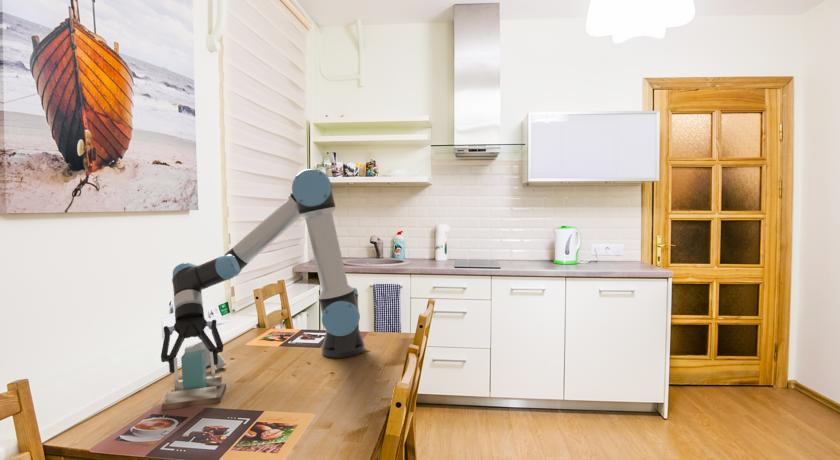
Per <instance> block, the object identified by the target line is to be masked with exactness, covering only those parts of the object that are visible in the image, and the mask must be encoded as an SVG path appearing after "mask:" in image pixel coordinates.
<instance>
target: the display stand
mask: <svg viewBox="0 0 840 460" xmlns="http://www.w3.org/2000/svg"><path fill="white" fill-rule="evenodd" d="M206 378H207V387H206V388H198V389H190V390H183V379H178V383H179V385H175V381H174V383H173V384H174V389H172V390H171V391H169V392H166V393H165V399H164V401H163V403H162V404H161V409H162V411H166V409H167V410H174V409H175V410H176V409H179V408H180V409H182V408H188V407H194V406H195V407H196V406H203V405H210V404H218V403H222V399H223V396H224V395H225V393H226V390H227V383H226V382H225V383H223V376H222V374H220V375H215V377H214V378H212V376H206Z"/></svg>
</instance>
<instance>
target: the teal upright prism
mask: <svg viewBox="0 0 840 460" xmlns="http://www.w3.org/2000/svg"><path fill="white" fill-rule="evenodd" d="M180 359H181V360H180V362H181V372H182V375H181V376H182V380H183V390H190V389H198V388H206V387H207V378H206V377H207V367H206V363H205V350H202V351H194V352H185V351H184V353H183V355H182V356H181V357H180Z"/></svg>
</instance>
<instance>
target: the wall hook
mask: <svg viewBox="0 0 840 460" xmlns="http://www.w3.org/2000/svg"><path fill="white" fill-rule="evenodd" d="M202 350H205V363H206V368H207V367H209V366H210V358H209V354H210V351H209V350H208V349H207V347H206V346H205V344H204V343H203V342H202V340H200V341H197V342H195V343H192V344H189V345H188V346H186V347H185V348H184V353H185V352H194V351H202ZM217 356H218V364H217V365H214V367H216V369H217V370H220V369H222V368H223V367H224V366H226V365H227V364H228V363H227V362H226V360H225V359H224V357H223V356H222V355H221V352H219V353H218V354H217Z"/></svg>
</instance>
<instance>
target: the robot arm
mask: <svg viewBox="0 0 840 460" xmlns="http://www.w3.org/2000/svg"><path fill="white" fill-rule="evenodd" d="M333 194H334V193H333V187H332V182H331V180H330V179H329V177H328V175H327V174H326V173H325V172H323V171H322V170H319V169H317V168H316V169H314V168H308V169H304V170H301V171H300V172H298V173H297V174H296V176H295V177H294V178H293V181H292V183H291V192H290V193H289V194H288V198H287V199H286V200H285V201H284V202H283V203H282V204H281V205H279V207H278V208H276V209H275V210H274V211H273V212H272V213H271V214H270V215H268V216H267V217H266V218H265V219H264V220H263V221H261V222H260V223H259V224H258V225H257V226H255V228H254V229H253V230H251V231H250V232H249V233H248V234H247V235H246V236H244V237H243V238H242V239H241V240H239V241H238V242H237V243H236V244H235V245H234V246H233V247H231V248H230V249H229V250H228V251H227V252H226V253H225V254H224V255H221V256H218V257H217V258H213V259H211V260H209V261H206V262H205V263H204V262H203V263H202V264H198V265H197V264H195V263H193V262H186V263H184V262H183V263H179V264H178V265H176V266H175V267H174V268H173V270H172V278H171V282H172V287H173V288H172V289H173V290H172V291H173V304H174V305H173V306H174V307H173V308H174V318H175V319H174V321H175V323H174V325H173V326H168V325H167V326H166V325H165V326H163V335H164V337H163V342H162V343H163V344H162V348H161V355H160V362H162V363H165V362H167V363H168V369H169V373H170V374H173V373H174V382H175V384H174V386H175V385H179V383H178V380H179V372H178V371H179V369H178V368H179V367H178V357H177V356H178V353H179V351H180V349H181V347H182V345H183V343H184V342H185V339H189V338H196V337H197V338H198V339H199V340H200V341H202V342H203V343H204V344H205V346H206V347H207V349H208V350H209V351H210V354H209V358H210V365H209V366H210V374H211V376H212V378H214V377H215V376H216V370H215V369H216V368H215V365H217V364H218V356H217V354H218V353H223V351H224V344H223V341H222V338H221V336H220V332H219V331H218V328H217V320H216V319H212V321H210V320H209V321H207V320H206V319H205V314H204V313H205V312H204V307H203V306H204V304H203V303H204V302H203V296H202V290H205V289H208V288H209V287H213V286H214V285H218V284H220V283H223V282H226V281H228V280H231V279H233V278H235V277H237V276H239V275H240V273H241V272H242V270H243V269H244V268H246V266H247V265H248V264H249V263H250V262H252V261H253V260H254V259H255V258H257V256H259V254H261V253H262V252H263V251H265V250H266V249H267V248H268V247H269V246H270V245H271V244H272V243H274V241H276V240H277V239H278V238H279V237H281V235H282V234H284V233H285V232H286V231H287V230H288V229H289V228H291V226H293V225H294V224H295V223H296V222H297V221H298V220H300V219H301V218H303V219H304V220H305V224H306V226H307V232H308V235H309V239H310V244H311V248H312V253H313V258H314V262H315V267H316V271H317V275H318V280H319V284H320V288H321V292H320V294H319V295H318V301H319V306H320V310H321V323H322V326H323V327H324V329H325V335H324V339H323V342H322V345H321V354H322V356H324V357H326V358H333V359H344V358H351V357H355V356H358V355H361V354H362V353H364V351H366V350H365V342H364V339H363V336H362V333H361V331H360V325H359V324H360V323H359V322H360V318H361V315H360V311H359V310H360V309H359V292H358V289H357V288H356V287H352V286H350V285H349V283H348V279H347V275H346V270H345V265H344V261H343V257H342V253H341V252H342V251H341V247H340V244H339V238H338V234H337V233H338V232H337V230H336V225H335V221H334V217H333V212H334V211H335V209H336V208H337V207H336V203H335V199H334V195H333ZM206 327H208V329H209V330H211V335H212V337H213V341H214V342H215V344H214V343H213V341H212V340H211V339H210V337H209V335H207V334H206V332H205V329H206ZM174 332H176V333H177V334H178V335H177V338H176V340H175V342H174V344H173V347H172V348H171V351H170V353H169V348H170V340H171V336H172V334H173V333H174ZM215 345H216V346H215ZM168 353H169V354H168Z"/></svg>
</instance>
